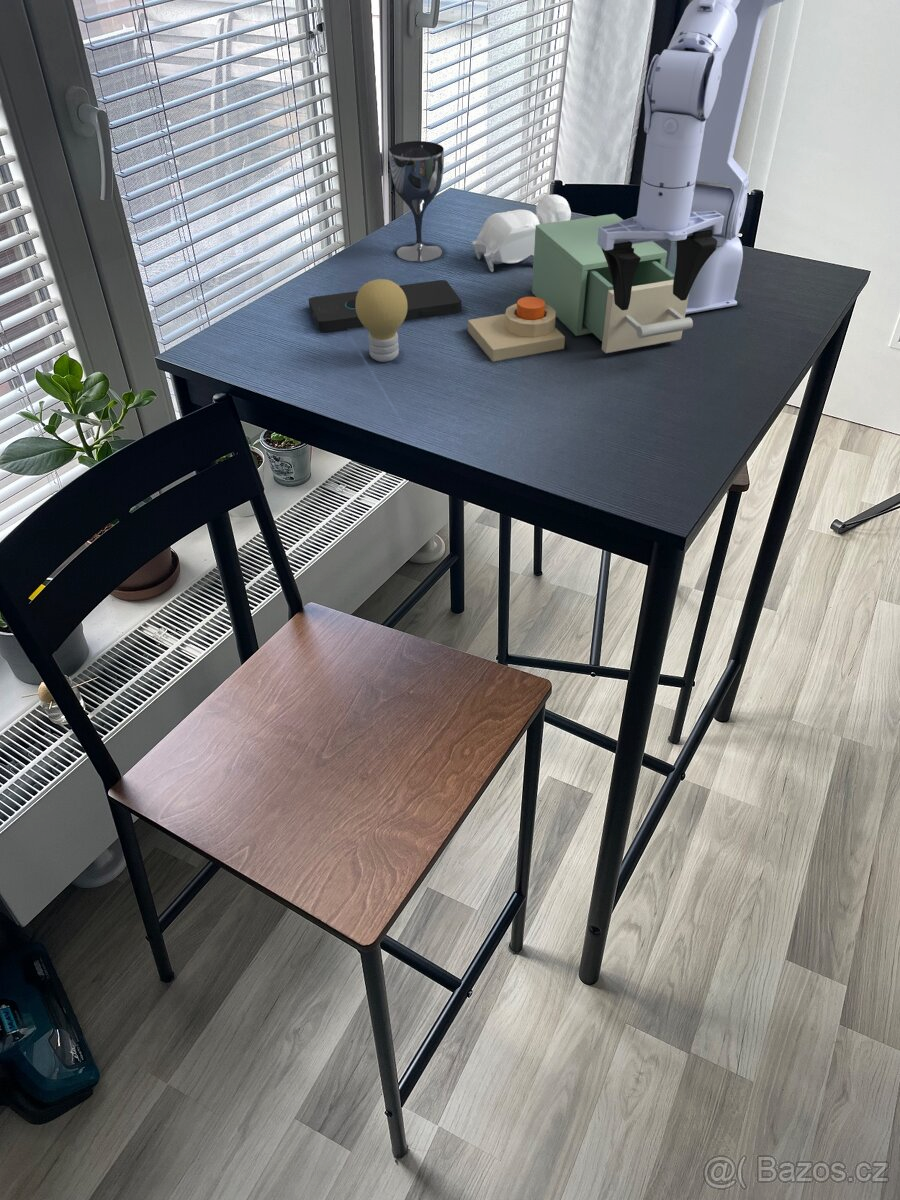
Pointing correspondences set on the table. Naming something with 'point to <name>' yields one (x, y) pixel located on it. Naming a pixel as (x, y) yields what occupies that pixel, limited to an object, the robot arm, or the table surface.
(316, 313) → the smart home device
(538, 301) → the button
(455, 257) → the table surface
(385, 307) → the light bulb
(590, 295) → the cream pull-out drawer
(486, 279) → the table surface
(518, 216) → the white pig figurine
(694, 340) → the table surface
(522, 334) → the control block
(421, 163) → the wine glass
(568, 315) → the green drawer cabinet
